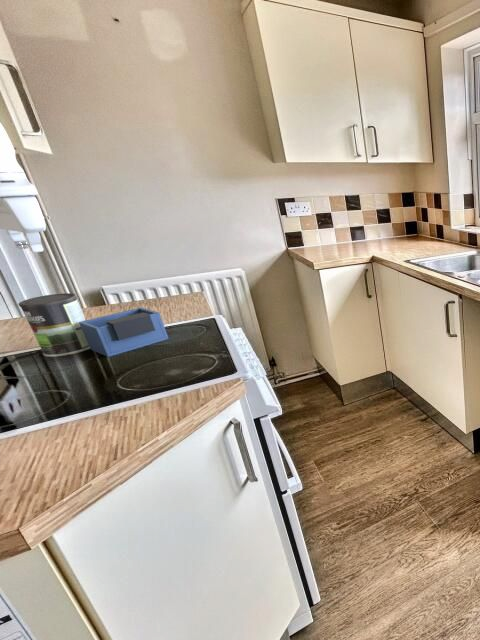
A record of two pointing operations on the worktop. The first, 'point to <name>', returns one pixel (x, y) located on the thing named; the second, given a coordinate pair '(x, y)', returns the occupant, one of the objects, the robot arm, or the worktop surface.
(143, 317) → the dark gray block
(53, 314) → the coffee can
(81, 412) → the worktop surface
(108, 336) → the blue box
